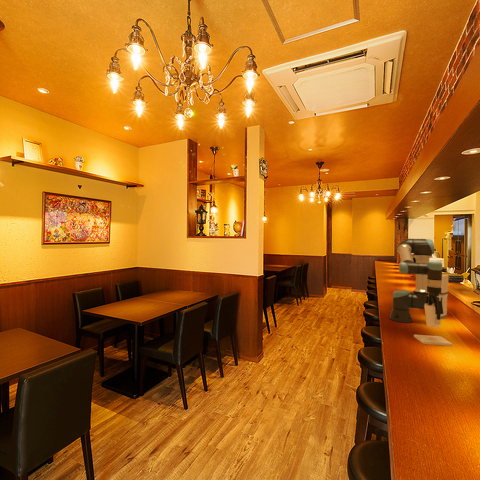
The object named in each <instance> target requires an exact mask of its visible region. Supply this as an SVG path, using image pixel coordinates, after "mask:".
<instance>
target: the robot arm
mask: <svg viewBox="0 0 480 480" xmlns="http://www.w3.org/2000/svg"><path fill="white" fill-rule="evenodd" d="M396 251H397V253H398V254H399V257H400V262H399V264H398V271H399V273H400V274H406V275H407V274H409V275H415V289H413V291H412V292H411V291H410V290H405V289H398V290H394V291H393V292H392V309H391V311H390V313H389V319H390V320H392V321H393V322H398V323H405V324H407V323H412V321H413V317H412V315H411V312H410V310H411V309H417V310H418V309H419V310H424V311H425V308H424V305H425V304H428V305H432V304H433V303H434V306H435V311H436V313H435V325H439V326H440V325H441V320H442V319H441V314H443V305H442V297H439V294H441V291H442V288H441V287H442V275H443V269H444V268H443V263H442V262H441V261H430V258H431V259H432V256H433V255H434V254H435V243H434V241H433V240H432V239H429V238H405V239H403V240H402V241H400V242H399V243H398V244H397V247H396ZM413 256H414V258H415V262H414V258H413Z"/></svg>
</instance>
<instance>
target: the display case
mask: <svg viewBox="0 0 480 480" xmlns="http://www.w3.org/2000/svg"><path fill="white" fill-rule="evenodd" d="M441 288H442V291H441V294H439V297H442V305H443V314H441V319H440V320H444V319H446V318H447V317H448V314H447V313H448V312H447V311H448V309H447V308H448V296H449V274H442V287H441ZM433 304H434V303H433Z"/></svg>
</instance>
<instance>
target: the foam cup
mask: <svg viewBox="0 0 480 480" xmlns="http://www.w3.org/2000/svg"><path fill="white" fill-rule="evenodd" d="M424 308H425V310H424V313H425V314H424V315H425V322H426V326H428V327H430V328H435V329H437V328H438V329H439V327H440V325H435V313H436V311H435V306H434V304H432V305H428V304H425V305H424Z"/></svg>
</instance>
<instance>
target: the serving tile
mask: <svg viewBox="0 0 480 480" xmlns="http://www.w3.org/2000/svg"><path fill="white" fill-rule="evenodd" d="M413 338H415V339H416V340H418V342H420V343H422V344H424V345H430V346H431V345H433V346H434V345H435V346H445V347H453V343H452V342H451V341H448V340H447V339H446V338H444V337H443V336H441V335H428V334H426V335H425V334H413Z"/></svg>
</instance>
